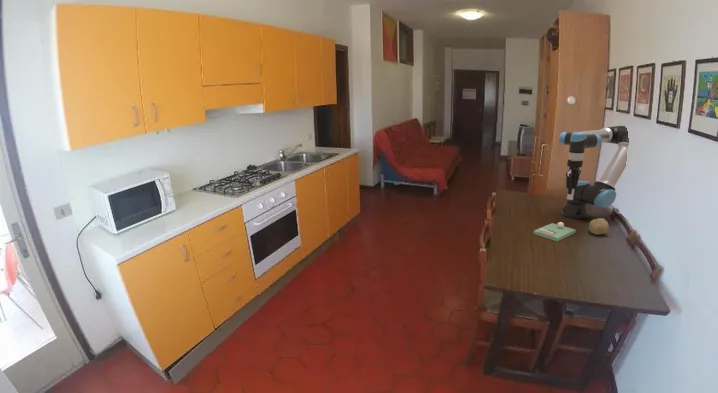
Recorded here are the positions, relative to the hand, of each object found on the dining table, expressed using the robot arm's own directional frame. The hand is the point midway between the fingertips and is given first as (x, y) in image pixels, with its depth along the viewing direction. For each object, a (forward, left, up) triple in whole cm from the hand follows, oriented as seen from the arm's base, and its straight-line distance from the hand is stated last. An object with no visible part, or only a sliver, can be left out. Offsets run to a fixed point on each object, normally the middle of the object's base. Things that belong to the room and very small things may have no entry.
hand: (569, 199), depth 214 cm
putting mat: (+13, 0, -18) cm, 23 cm away
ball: (+7, 0, -15) cm, 16 cm away
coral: (-5, +15, -19) cm, 24 cm away
